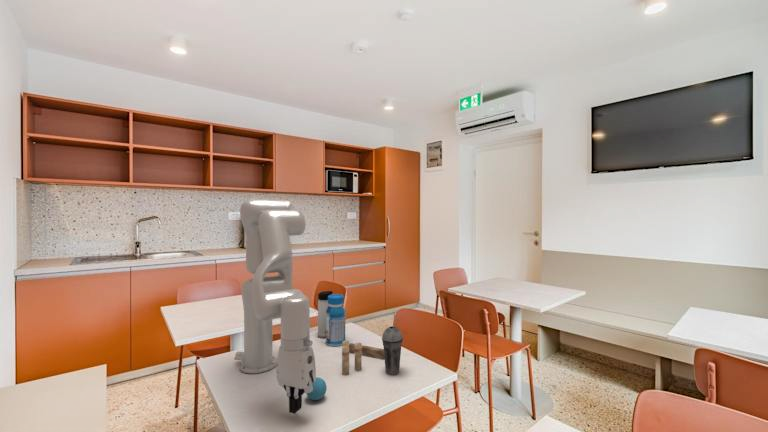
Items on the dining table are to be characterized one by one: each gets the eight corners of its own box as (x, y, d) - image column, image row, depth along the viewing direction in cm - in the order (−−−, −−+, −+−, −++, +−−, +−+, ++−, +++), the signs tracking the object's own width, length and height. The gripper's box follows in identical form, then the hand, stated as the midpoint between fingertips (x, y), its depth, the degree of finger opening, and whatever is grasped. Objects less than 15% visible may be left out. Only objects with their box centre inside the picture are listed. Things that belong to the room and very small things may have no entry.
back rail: (387, 357, 126) (387, 349, 126) (385, 359, 125) (385, 351, 125) (350, 350, 133) (350, 343, 133) (347, 352, 131) (347, 344, 131)
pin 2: (353, 370, 116) (353, 345, 116) (355, 367, 118) (355, 342, 118) (360, 371, 115) (360, 345, 115) (362, 368, 118) (362, 342, 118)
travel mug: (329, 339, 145) (329, 293, 145) (315, 337, 147) (315, 292, 146) (334, 334, 151) (334, 290, 151) (321, 332, 153) (321, 289, 153)
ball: (302, 403, 96) (302, 382, 96) (310, 392, 102) (310, 372, 102) (322, 405, 95) (322, 384, 95) (329, 394, 101) (329, 374, 101)
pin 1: (341, 368, 118) (341, 342, 118) (343, 365, 120) (343, 340, 120) (348, 368, 117) (348, 343, 117) (350, 365, 120) (350, 340, 120)
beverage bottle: (336, 348, 135) (336, 299, 135) (321, 344, 140) (321, 296, 140) (349, 341, 142) (349, 295, 142) (334, 337, 147) (334, 292, 147)
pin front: (341, 375, 113) (341, 348, 113) (343, 371, 115) (343, 345, 115) (348, 375, 112) (348, 349, 112) (350, 372, 115) (350, 346, 115)
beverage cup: (377, 372, 115) (377, 314, 115) (391, 365, 120) (391, 310, 120) (393, 379, 110) (393, 319, 110) (407, 371, 115) (407, 314, 115)
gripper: (326, 341, 90) (326, 409, 90) (282, 333, 96) (282, 397, 96) (309, 352, 83) (309, 425, 83) (263, 342, 89) (263, 411, 89)
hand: (295, 410), depth 90 cm, fingers closed
